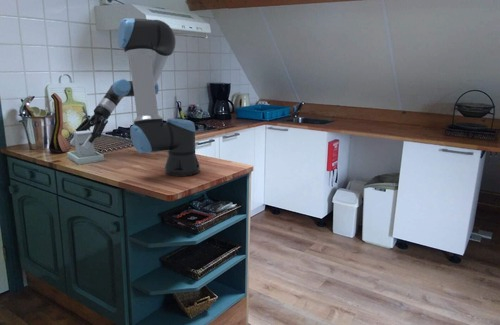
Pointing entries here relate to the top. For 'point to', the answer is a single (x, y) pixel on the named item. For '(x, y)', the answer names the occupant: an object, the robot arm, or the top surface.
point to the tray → (85, 158)
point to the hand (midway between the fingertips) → (78, 146)
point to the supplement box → (79, 141)
